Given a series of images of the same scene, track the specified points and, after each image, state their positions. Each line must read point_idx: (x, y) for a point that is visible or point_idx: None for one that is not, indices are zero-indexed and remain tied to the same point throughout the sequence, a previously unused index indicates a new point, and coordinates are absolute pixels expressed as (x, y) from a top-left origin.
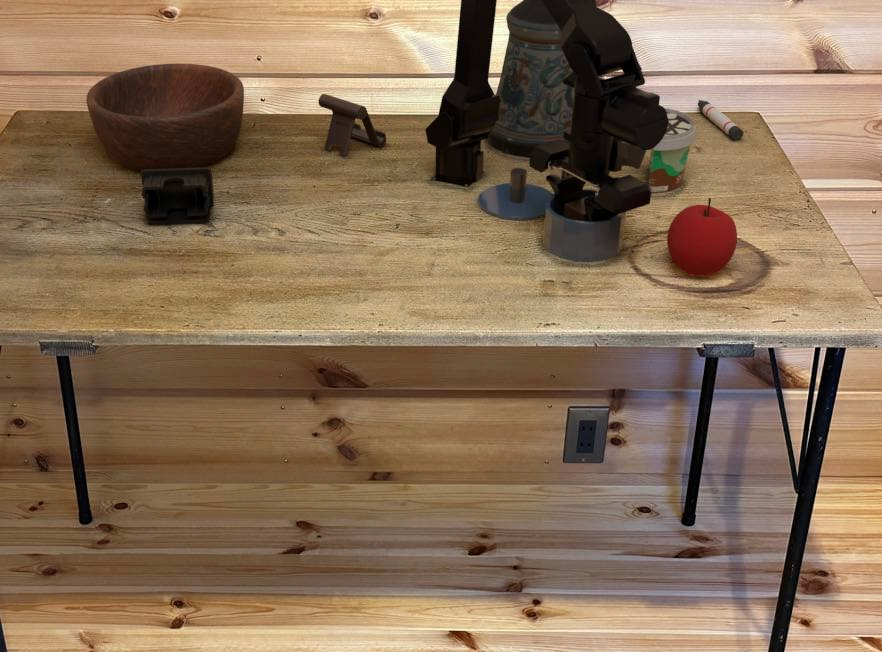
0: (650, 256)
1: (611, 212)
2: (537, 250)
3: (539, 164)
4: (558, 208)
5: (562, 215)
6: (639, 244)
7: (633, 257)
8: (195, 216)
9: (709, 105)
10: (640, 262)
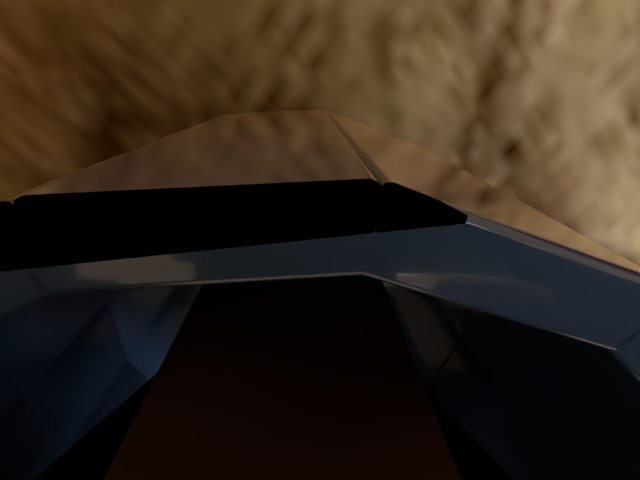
0: (625, 110)
1: (316, 182)
2: None
3: None
4: (12, 473)
5: (46, 371)
6: (497, 36)
7: (548, 194)
8: None
9: None
10: (604, 205)
